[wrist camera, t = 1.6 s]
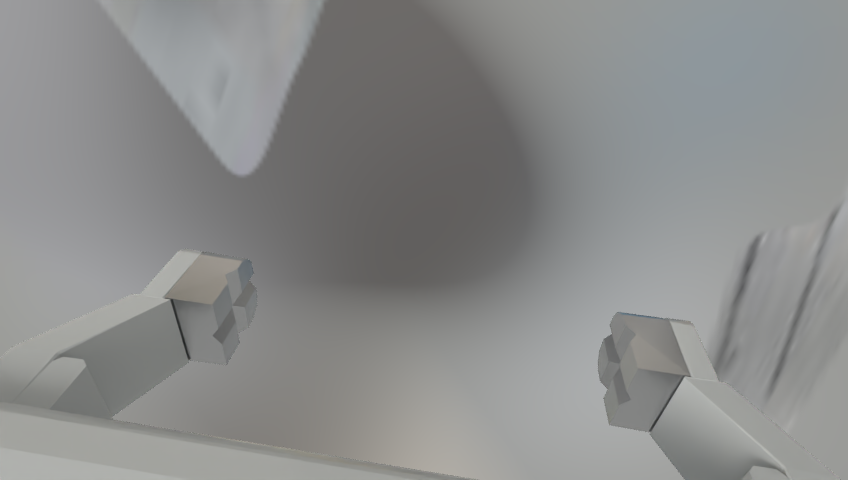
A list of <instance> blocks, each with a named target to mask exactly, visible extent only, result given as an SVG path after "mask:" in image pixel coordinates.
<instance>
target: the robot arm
mask: <svg viewBox="0 0 848 480" xmlns="http://www.w3.org/2000/svg"><path fill="white" fill-rule="evenodd" d="M253 273H254V272H253V267H252V262H251V261H250V260H248V259H245V258H240V257H234V256H228V255H222V254H215V253H210V252H201V251H195V250H190V249H183V250H180V251H178V252H177V253H176V254H175V255H174V257H173V258H172V259H171V260H170V261H169V262H168V263H167V264H166V266H165V267H164V268H163V269H162V270H161V271H160V272H159V273H158V274H157V276H156V277H155V278H154V279H153V280H152V281H151V282H150V283H149V284H148V286H147V287H146V288H145V289H144V290H143V291H142V292H141V294H140V295H136V294H131V295H129V296H127V297H125V298H122V299H120V300H118V301H115V302H113V303H111V304H108V305H106V306H104V307H102V308H99V309H97V310H95V311H93V312H90V313H88V314H86V315H84V316H81V317H79V318H77V319H74V320H72V321H70V322H67V323H65V324H63V325H61V326H58V327H56V328H54V329H52V330H49V331H47V332H45V333H42V334H40V335H38V336H36V337H33V338H32V339H29V340H26V341H24V342H22V343H20V344H17V345H15V346H13V347H12V348H11V349H9V350H8V351H7V352H6V353H5V354H4V355H3V356H2V357H1V358H0V480H476V479H470V478H464V477H458V476H452V475H445V474H439V473H433V472H427V471H421V470H415V469H409V468H403V467H397V466H391V465H385V464H378V463H373V462H367V461H361V460H354V459H349V458H343V457H337V456H330V455H324V454H318V453H312V452H306V451H300V450H294V449H288V448H282V447H276V446H270V445H264V444H258V443H252V442H245V441H239V440H233V439H227V438H221V437H215V436H209V435H203V434H197V433H191V432H184V431H178V430H172V429H166V428H160V427H154V426H148V425H142V424H136V423H130V422H124V421H118V420H113V418H112V417H113V416H114V415H115V414H117V413H118V412H120V411H121V410H122V409H124V408H125V407H126V406H128V405H129V404H131V403H132V402H134V401H135V400H136V399H138V398H139V397H141V396H142V395H144V394H145V393H146V392H148V391H149V390H151V389H152V388H154V387H155V386H156V385H158V384H159V383H161V382H162V381H163V380H165V379H166V378H168V377H169V376H171V375H172V374H173V373H175V372H176V371H178V370H179V369H180V368H182V367H183V366H185V365H186V364H187V363H189V360H190V361H198V362H205V363H214V364H221V365H227V364H228V362H229V360H230V359H231V357H232V355H233V353H234V352H235V350H236V348H237V347H238V345H239V343H240V341H239V335H238V333H240V332H242V331H244V330H245V329H247V328H248V327H249V325H250V324H251V322H252V320H253V318H254V315H255V311H256V307H257V290H256V287H255V286H254V285H253V284H252V283H251V282H250V281H249V280H250V278H251V277H252V275H253ZM610 327H611V331H612V334H611V335H610V336H608V337H607V338H605V339H604V340H603V342H602V345H601V348H600V351H599V359H598V372H599V378H600V381H601V383H602V384H603V385H604V386H605V387H606V388H607V389H608V390H607V392H606V394H605V397H604V403H605V407H606V412H607V416H608V421H609V425H612V426H618V427H623V428H629V429H634V430H640V431H645V432H650V435H651V437H652V438H653V439H654V441H655V442H656V443H657V444H658V446H659V447H660V448H661V450H662V451H663V452H664V453H665V455H666V456H667V457H668V459H669V460H670V461H671V462H672V464H673V465H674V466H675V467H676V469H677V470H678V472H680V474H681V475H682V477H683V478H684V479H685V480H840V478H839V477H838V476H837V475H835V474H834V473H833V472H832V471H831V470H830V469H828V468H827V467H826V466H825V465H824V464H823V463H821V462H820V461H819V460H818V459H817V458H815V457H814V456H813V455H812V454H810V452H808V451H807V450H806V449H805V448H804V447H802V446H801V445H800V444H799V443H798V442H796V441H795V440H794V439H793V438H792V437H791V436H789V435H788V434H787V433H786V432H785V431H783V430H782V429H781V428H780V427H779V426H777V425H776V424H775V423H774V422H773V421H772V420H770V419H769V418H768V417H767V416H766V415H764V414H763V413H762V412H761V411H760V410H759V409H757V408H756V407H755V406H754V405H753V404H751V403H750V402H749V401H748V400H747V399H745V398H744V397H743V396H742V395H741V394H740V393H738V392H737V391H736V390H735V389H734V388H732V387H731V386H730V385H729V384H728V383H725V382H719V379H718V377H717V375H716V373H715V371H714V368H713V366H712V364H711V362H710V360H709V357H708V355H707V353H706V351H705V349H704V346H703V344H702V342H701V340H700V338H699V335H698V333H697V331H696V329H695V327H694V325H693V324H692V323H691V322H690V321H683V320H676V319H668V318H665V319H663V318H657V317H651V316H643V315H636V314H629V313H621V312H617V313H616V314H615V315H614V317H613V319H612V321H611V323H610Z"/></svg>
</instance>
